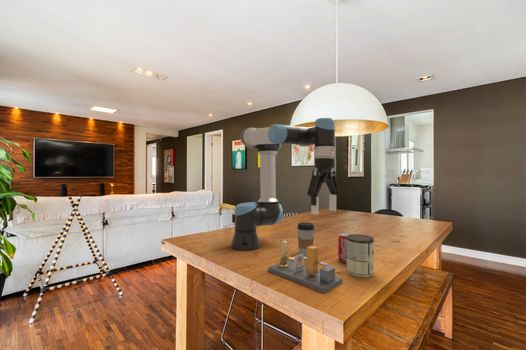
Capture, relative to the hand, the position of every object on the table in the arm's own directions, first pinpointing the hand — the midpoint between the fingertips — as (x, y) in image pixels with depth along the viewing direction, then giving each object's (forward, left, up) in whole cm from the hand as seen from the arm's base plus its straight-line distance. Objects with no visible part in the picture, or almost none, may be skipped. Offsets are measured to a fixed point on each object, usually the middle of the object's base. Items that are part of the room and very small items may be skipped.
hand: (324, 212), depth 98 cm
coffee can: (+9, +12, -25) cm, 29 cm away
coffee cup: (-19, +14, -25) cm, 34 cm away
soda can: (-1, +20, -25) cm, 32 cm away
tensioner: (+6, -8, -23) cm, 25 cm away
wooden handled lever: (0, -8, -22) cm, 23 cm away
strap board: (-4, -8, -24) cm, 26 cm away
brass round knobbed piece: (-13, -8, -23) cm, 27 cm away
